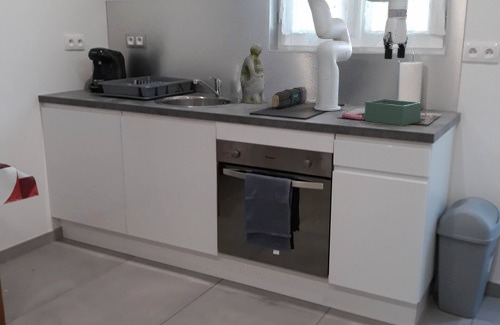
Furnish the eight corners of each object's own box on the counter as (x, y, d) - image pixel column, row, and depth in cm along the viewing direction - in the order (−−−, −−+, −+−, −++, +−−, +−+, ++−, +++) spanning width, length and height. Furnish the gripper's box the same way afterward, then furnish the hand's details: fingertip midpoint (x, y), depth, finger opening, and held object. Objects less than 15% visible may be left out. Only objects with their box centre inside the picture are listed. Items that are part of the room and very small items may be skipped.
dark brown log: (266, 114, 250) (295, 99, 274) (278, 119, 248) (306, 103, 271) (270, 93, 245) (298, 80, 269) (282, 97, 243) (310, 83, 266)
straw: (340, 117, 225) (341, 113, 225) (343, 117, 226) (343, 112, 226) (360, 120, 218) (360, 115, 218) (363, 119, 219) (363, 115, 219)
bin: (364, 120, 218) (365, 101, 216) (382, 116, 227) (383, 98, 225) (402, 125, 206) (403, 106, 204) (419, 121, 215) (421, 102, 213)
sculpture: (253, 104, 266) (253, 43, 258) (235, 101, 276) (234, 43, 269) (269, 102, 273) (269, 43, 266) (251, 99, 283) (251, 42, 276)
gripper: (400, 15, 217) (397, 57, 221) (377, 14, 205) (374, 59, 209) (416, 14, 212) (413, 58, 216) (394, 14, 200) (391, 59, 204)
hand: (394, 58), depth 212 cm, fingers open, 9 cm apart
